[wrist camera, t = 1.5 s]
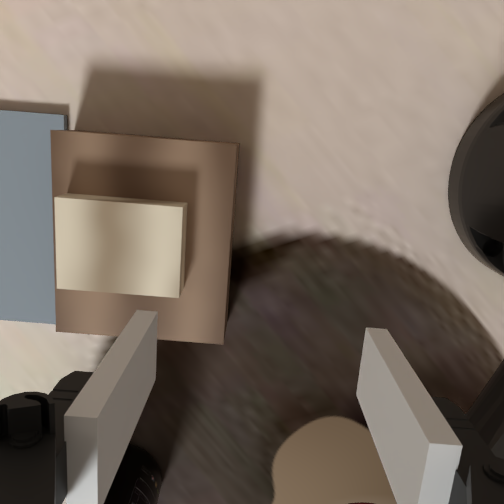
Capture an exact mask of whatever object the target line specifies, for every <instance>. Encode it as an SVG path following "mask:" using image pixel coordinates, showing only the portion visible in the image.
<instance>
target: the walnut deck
mask: <svg viewBox="0 0 504 504" xmlns="http://www.w3.org/2000/svg"><path fill="white" fill-rule="evenodd" d="M50 137H51V172H52V207H53V243H54V278H55V313H56V332H69V333H81V334H94V335H107V336H119V335H120V334H121V332H122V331H123V329H124V328H125V326H126V325H127V324H128V322H129V321H130V319H131V318H132V316H133V315H134V313H135V312H136V311H137V310H144V311H157V312H158V319H157V339H159V340H172V341H185V342H198V343H211V344H224V338H225V332H226V326H227V316H228V302H229V287H230V272H231V258H232V243H233V228H234V214H235V199H236V184H237V170H238V155H239V143H229V142H217V141H204V140H191V139H179V138H166V137H153V136H141V135H128V134H115V133H103V132H90V131H77V130H50ZM66 193H71V194H84V195H96V196H109V197H122V198H135V199H147V200H160V201H173V202H185V203H187V227H186V250H185V273H184V289H183V291H182V293H181V295H180V297H179V298H171V297H158V296H145V295H132V294H120V293H107V292H94V291H81V290H68V289H57V276H56V239H55V202H54V197H57V196H60V195H63V194H66Z"/></svg>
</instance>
